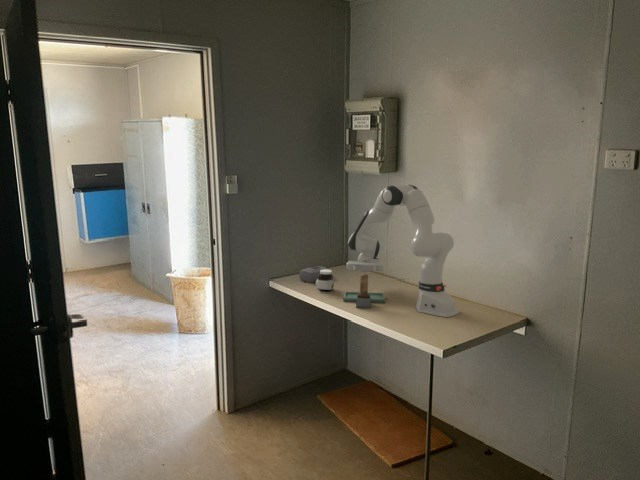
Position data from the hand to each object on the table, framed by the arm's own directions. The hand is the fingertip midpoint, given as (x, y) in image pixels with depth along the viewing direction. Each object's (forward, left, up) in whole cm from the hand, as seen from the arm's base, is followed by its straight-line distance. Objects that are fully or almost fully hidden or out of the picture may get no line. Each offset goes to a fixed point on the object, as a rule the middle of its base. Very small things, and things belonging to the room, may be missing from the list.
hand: (364, 269), depth 276 cm
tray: (0, 0, -16) cm, 16 cm away
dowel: (-8, +9, -16) cm, 20 cm away
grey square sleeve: (-8, +9, -16) cm, 21 cm away
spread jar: (+28, +3, -17) cm, 33 cm away
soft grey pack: (+48, -9, -17) cm, 51 cm away
